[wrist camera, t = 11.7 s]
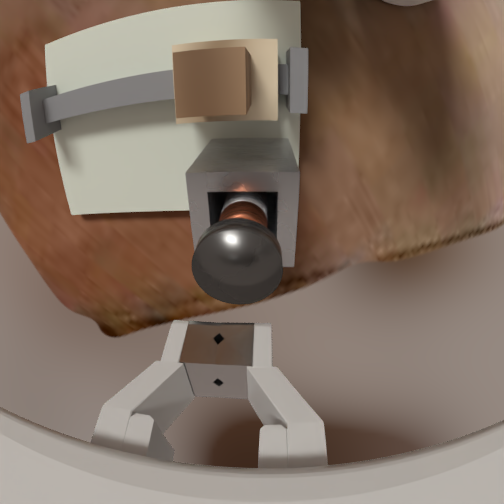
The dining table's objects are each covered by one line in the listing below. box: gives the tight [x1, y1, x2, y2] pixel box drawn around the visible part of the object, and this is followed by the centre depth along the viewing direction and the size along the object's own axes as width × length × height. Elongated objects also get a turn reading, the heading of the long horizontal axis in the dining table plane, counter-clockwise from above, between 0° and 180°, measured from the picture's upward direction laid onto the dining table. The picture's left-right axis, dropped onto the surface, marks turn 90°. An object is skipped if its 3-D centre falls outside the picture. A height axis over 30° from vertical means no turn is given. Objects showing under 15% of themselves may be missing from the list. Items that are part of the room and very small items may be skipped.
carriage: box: [172, 39, 278, 124], centre depth 14 cm, size 6×5×8 cm
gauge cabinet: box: [185, 138, 300, 267], centre depth 19 cm, size 5×6×9 cm
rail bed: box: [20, 0, 308, 215], centre depth 18 cm, size 20×16×5 cm
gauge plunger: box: [192, 191, 283, 304], centre depth 15 cm, size 4×4×8 cm
